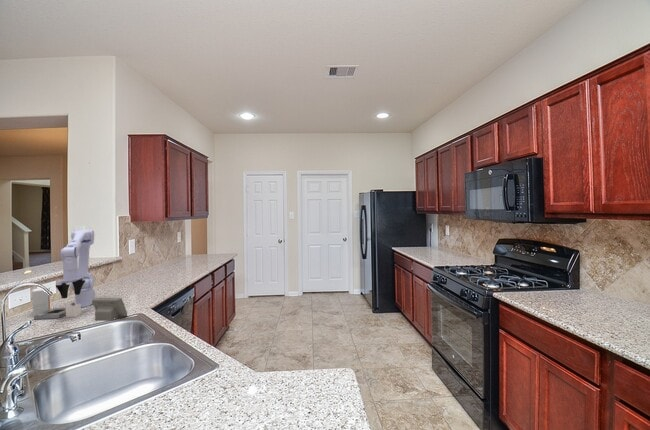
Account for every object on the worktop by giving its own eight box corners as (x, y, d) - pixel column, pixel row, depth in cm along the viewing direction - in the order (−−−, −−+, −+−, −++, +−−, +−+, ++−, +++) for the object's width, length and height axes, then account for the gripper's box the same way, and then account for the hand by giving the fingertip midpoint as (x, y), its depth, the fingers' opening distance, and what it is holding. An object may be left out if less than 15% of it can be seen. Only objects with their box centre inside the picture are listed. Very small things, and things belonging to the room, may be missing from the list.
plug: (72, 314, 156) (71, 302, 156) (81, 314, 156) (80, 301, 156) (66, 317, 152) (65, 304, 152) (75, 316, 152) (74, 304, 152)
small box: (49, 313, 158) (48, 289, 158) (32, 316, 154) (31, 291, 154) (50, 309, 165) (49, 286, 164) (34, 312, 161) (33, 288, 160)
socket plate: (54, 311, 161) (54, 307, 161) (77, 310, 162) (77, 306, 162) (34, 319, 149) (33, 314, 149) (59, 318, 150) (58, 313, 150)
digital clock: (129, 316, 151) (128, 295, 151) (111, 322, 142) (111, 300, 142) (107, 313, 156) (106, 293, 156) (88, 319, 147) (87, 298, 147)
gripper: (65, 272, 146) (66, 299, 145) (89, 267, 160) (90, 292, 160) (51, 272, 146) (52, 300, 146) (76, 268, 160) (77, 293, 160)
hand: (71, 296), depth 153 cm, fingers open, 7 cm apart
